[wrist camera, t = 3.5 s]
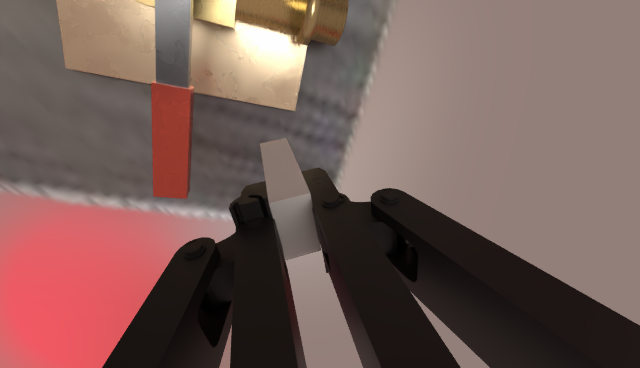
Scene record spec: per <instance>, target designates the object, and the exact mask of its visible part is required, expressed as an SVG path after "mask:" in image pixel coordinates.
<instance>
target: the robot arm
mask: <svg viewBox="0 0 640 368" xmlns="http://www.w3.org/2000/svg"><path fill="white" fill-rule="evenodd" d="M260 148H261V155H262V162H263V168H264V175H265V181H264V182H260V183H256V184H252V185H248V186H246V187H245V188H244V189H243V191H242V192H241V197H239V198H237V199H235V200H234V201H233V202H232V203H231V204H230V206H229V210H230V212H231V215H232V218H233V220H234V223H235V226H236V232H235V233H234V234H233V235H231V236H230V237H228V238H226V239H225V240H222V241H220V242H218V243H215V241H214V240H213V239H211V238H198V239H194V240H192V241H190V242H188V243H186V244H185V245H183V246H182V247H181V248H180V249H179V250H178V251H177V252H176V253H175V255H174V256H173V258H172V259H171V261H170V263H169V264H168V266H167V267H166V269H165V270H164V272H163V273H162V275H161V277H160V278H159V280H158V281H157V283H156V285H155V286H154V287H153V289H152V291H151V292H150V294H149V295H148V297H147V298H146V300H145V302H144V303H143V305H142V306H141V308H140V309H139V311H138V313H137V314H136V316H135V317H134V319H133V320H132V322H131V323H130V325H129V326H128V328H127V330H126V331H125V333H124V334H123V336H122V338H121V339H120V341H119V342H118V344H117V345H116V347H115V348H114V350H113V352H112V353H111V355H110V356H109V358H108V359H107V361H106V362H105V364H104V366H103V367H102V368H219V366H220V363H221V359H222V356H223V352H224V349H225V346H226V342H227V339H228V335H229V332H230V328H231V325H232V336H231V360H230V361H231V363H230V368H307V367H306V362H305V357H304V352H303V347H302V341H301V336H300V331H299V326H298V321H297V315H296V310H295V305H294V300H293V295H292V290H291V284H290V279H289V274H288V269H287V266H286V262H285V260H288V259H292V258H295V257H299V256H302V255H306V254H309V253H313V252H316V251H320V250H321V248H322V252H323V257H324V262H325V268H326V273H329V275H330V277H331V280H332V283H333V285H334V288H335V291H336V294H337V297H338V299H339V302H340V305H341V308H342V310H343V313H344V316H345V319H346V321H347V324H348V327H349V330H350V332H351V335H352V338H353V341H354V343H355V346H356V349H357V352H358V354H359V357H360V360H361V363H362V366H363V368H460V366H459V365H458V363H457V362H456V360H455V358H454V357H453V355H452V354H451V353H450V351H449V349H448V348H447V346H446V345H445V343H444V342H443V341H442V339H441V337H440V336H439V334H438V333H437V331H436V330H435V328H434V327H433V326H432V324H431V322H430V321H429V319H428V318H427V316H426V315H425V313H424V312H423V310H422V309H421V307H420V306H419V304H418V303H417V301H416V300H415V298H414V297H413V295H412V294H411V292H412V293H413V294H414V295H415V296H416V297H417V298H418V299H419V300H420V301H421V302H422V303H423V304H424V305H425V306H426V307H427V308H428V309H430V311H432V312H433V313H434V314H435V315H436V316H437V317H438V318H439V319H440V320H441V321H442V322H443V323H444V324H445V325H446V326H447V327H448V328H450V330H451V331H453V333H455V334H456V335H457V336H458V337H459V338H460V339H461V340H462V341H463V342H464V343H465V344H466V345H467V346H468V347H469V348H470V349H471V350H472V351H473V352H474V353H475V354H476V355H478V356H479V357H480V358H481V359H482V360H483V361H484V362H485V363H486V364H487V365H488V366H489V367H490V368H640V325H638V324H636V323H634V322H632V321H631V320H629V319H627V318H625V317H624V316H622V315H620V314H618V313H617V312H615V311H613V310H611V309H610V308H608V307H606V306H604V305H603V304H601V303H599V302H597V301H595V300H594V299H592V298H590V297H588V296H587V295H585V294H583V293H581V292H579V291H578V290H576V289H574V288H572V287H571V286H569V285H567V284H565V283H564V282H562V281H560V280H558V279H557V278H555V277H553V276H551V275H550V274H548V273H546V272H544V271H542V270H541V269H539V268H537V267H535V266H534V265H532V264H530V263H528V262H527V261H525V260H523V259H521V258H520V257H518V256H516V255H514V254H513V253H511V252H509V251H507V250H506V249H504V248H502V247H500V246H499V245H497V244H495V243H493V242H492V241H490V240H488V239H486V238H484V237H483V236H481V235H479V234H477V233H476V232H474V231H472V230H470V229H469V228H467V227H465V226H463V225H461V224H460V223H458V222H456V221H454V220H453V219H451V218H449V217H447V216H446V215H444V214H442V213H440V212H439V211H437V210H435V209H433V208H431V207H430V206H428V205H426V204H425V203H423V202H421V201H419V200H417V199H415V198H414V197H412V196H410V195H409V194H407V193H405V192H403V191H401V190H398V189H392V188H388V189H382V190H378V191H376V192H375V193H373V194H372V196H371V202H351V201H350V200H349V198H348V197H347V196H346V195H344V194H341V193H339V192H338V190H337V189H336V187H335V186H334V184H333V182H332V181H331V179H330V178H329V176H328V175H327V173H326V171H324V170H322V169H320V168H315V169H311V170H307V171H303V172H301V170H300V168H299V166H298V164H297V161H296V159H295V157H294V154H293V152H292V150H291V148H290V145H289V143H288V141H287V138H283V139H278V140H274V141H269V142H265V143H260ZM320 245H321V246H320ZM410 291H411V292H410Z"/></svg>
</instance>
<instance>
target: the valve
mask: <svg viewBox="0 0 640 368" xmlns="http://www.w3.org/2000/svg"><path fill="white" fill-rule="evenodd" d="M56 2H57V9H58V17H59V24H60V31H61V38H62V46H63V53H64V60H65V67H66V68H67V69H73V70H78V71H83V72H89V73H94V74H99V75H105V76H110V77H115V78H121V79H126V80H131V81H137V82H142V83H147V84H151V82H153V81H155V80H156V51H155V0H56ZM347 12H348V0H193V27H192V54H191V81H190V86H194V92H195V93H201V94H206V95H212V96H217V97H222V98H228V99H233V100H238V101H244V102H249V103H254V104H260V105H265V106H270V107H276V108H281V109H286V110H292V111H295V108H296V103H297V97H298V92H299V87H300V82H301V77H302V71H303V66H304V61H305V56H306V51H307V45H309V43H310V41H311V40H315V41H318V42H322V43H325V44H329V45H333V46H334V45H336V44H337V42H338V41H339V39H340V37H341V35H342V32H343V29H344V26H345V22H346V18H347Z"/></svg>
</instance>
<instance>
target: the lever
mask: <svg viewBox="0 0 640 368" xmlns="http://www.w3.org/2000/svg"><path fill="white" fill-rule="evenodd" d="M192 27H193V0H155V51H156V80H155V81H153V82H151V93H152V146H153V196H156V197H170V198H184V199H187V196H188V193H189V190H190V170H191V147H192V123H193V99H194V86H190V81H191V54H192Z"/></svg>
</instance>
